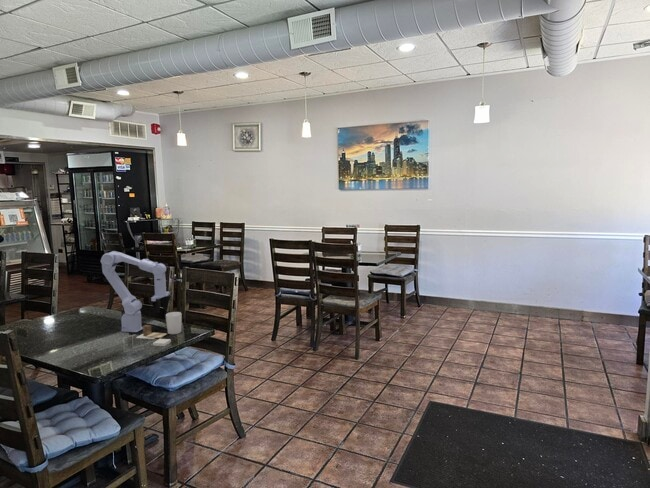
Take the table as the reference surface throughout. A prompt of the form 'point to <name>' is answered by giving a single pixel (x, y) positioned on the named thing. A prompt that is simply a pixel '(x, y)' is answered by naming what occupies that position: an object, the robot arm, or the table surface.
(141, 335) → the felt mat
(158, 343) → the tile
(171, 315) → the white cup
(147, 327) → the turner
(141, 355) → the table surface
